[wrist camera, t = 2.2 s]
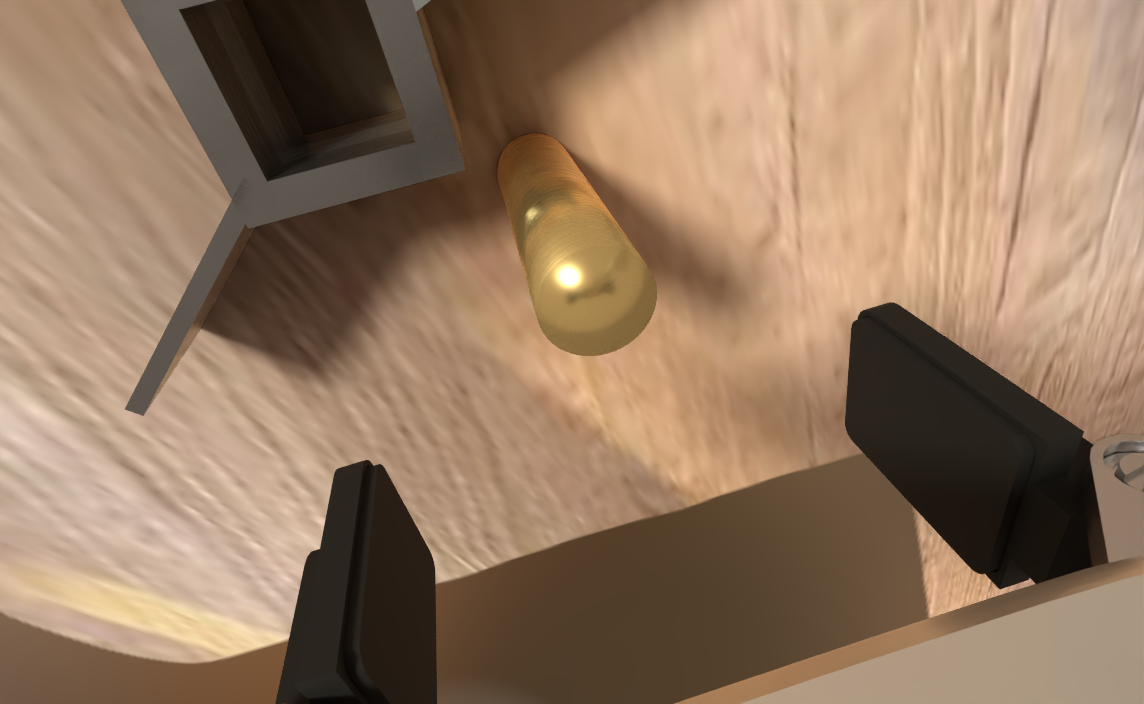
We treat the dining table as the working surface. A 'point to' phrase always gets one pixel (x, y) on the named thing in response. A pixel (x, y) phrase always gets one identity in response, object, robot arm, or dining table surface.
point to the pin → (572, 251)
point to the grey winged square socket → (284, 137)
